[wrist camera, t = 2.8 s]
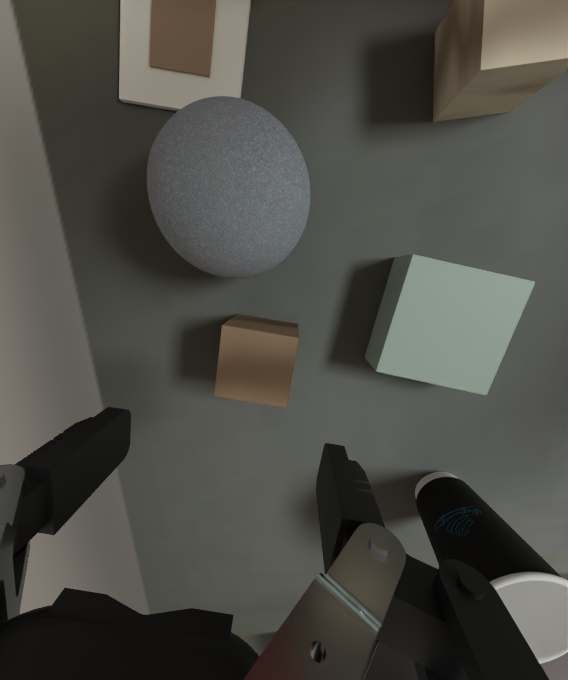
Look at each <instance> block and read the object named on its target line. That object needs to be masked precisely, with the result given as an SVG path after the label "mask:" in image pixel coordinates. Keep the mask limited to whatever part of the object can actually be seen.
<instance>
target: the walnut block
mask: <svg viewBox="0 0 568 680" xmlns="http://www.w3.org/2000/svg"><path fill="white" fill-rule="evenodd" d="M298 340H299V332H298V324H294V323H288V322H282V321H276V320H270V319H264V318H258V317H252V316H246V315H240V314H237V315H235V316H234V317H233V318H231V319H230V320H228V321H227V322H226V323H224V324H223V325H222V330H221V339H220V348H219V357H218V366H217V375H216V384H215V393H214V396H218V397H224V398H230V399H236V400H241V401H247V402H253V403H259V404H265V405H271V406H277V407H283V408H286V406H287V401H288V395H289V390H290V384H291V379H292V373H293V368H294V362H295V357H296V351H297V346H298Z"/></svg>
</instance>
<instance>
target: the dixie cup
mask: <svg viewBox="0 0 568 680" xmlns="http://www.w3.org/2000/svg"><path fill="white" fill-rule="evenodd" d="M415 497H416V505H417V509H418V511H419V514H420V516H421V519H422V522H423V524H424V527H425V529H426V532H427V535H428V537H429V540H430V542H431V545H432V547H433V550H434V553H435V555H436V558H437V560H438V563H439V566H440V564H441V563H442V562H443V561H444V560H447V559H455V560H459V561H462V562H464V563H466V564H468V565H470V566H471V567H473V568H474V569H476V570H477V571H478V572H480V573H481V574H482V575H483V576H484V577H485V578H486V579H487V580H488V581H489V582H490V583H491V584H492V586H493V587H494V588H495V590H496V591H497V593H498V594H499V596H500V598H501V599H502V601H503V603H504V604H505V606H506V608H507V610H508V611H509V613H510V615H511V616H512V618H513V620H514V621H515V623H516V625H517V626H518V628H519V630H520V631H521V633H522V635H523V636H524V638H525V640H526V642H527V643H528V645H529V647H530V648H531V650H532V652H533V653H534V655H535V657H536V658H537V660H538V662H539V663H540V664H541V663H544V662H548V661H551V660H553V659H556V658H558V657H560V656H562V655H564V654H565V653H567V652H568V580H566V579H564V578H562V577H561V576H560V575H559V574H558V573H557V572H556V571H555V570H554V569H553V568H552V567H551V566H550V565H549V564H548V563H547V562H546V561H545V560H544V559H543V558H542V557H541V556H540V555H539V554H537V553H536V552H535V551H534V550H533V549H532V548H531V547H530V546H529V545H528V544H527V543H526V542H525V541H524V540H523V539H522V538H521V537H520V536H519V535H518V534H517V533H516V532H515V531H514V530H513V529H512V528H511V527H510V526H509V525H508V524H507V523H506V522H505V521H504V520H503V519H502V518H501V517H500V516H499V515H498V514H497V513H496V512H495V511H494V510H493V509H492V508H491V507H490V506H489V505H488V504H487V503H486V502H484V501H483V500H482V499H481V498H480V497H479V496H478V495H477V494H476V493H475V492H474V491H473V490H472V489H471V488H470V487H469V486H468V485H467V484H466V483H465V482H463V481H462V480H460V479H458V478H457V477H456V476H454V475H453V474H451V473H447V472H434V473H431V474H428V475H426V476H425V477H423V478H422V479H421V480H420V481H419V482H418V484H417V486H416V488H415Z"/></svg>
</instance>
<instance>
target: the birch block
mask: <svg viewBox="0 0 568 680" xmlns="http://www.w3.org/2000/svg"><path fill="white" fill-rule="evenodd" d="M566 69H568V0H454V1H453V3H452V4H451V6H450V8H449V9H448V11H447V13H446V15H445V16H444V18H443V20H442V21H441V23H440V25H439V27H438V28H437V30H436V32H435V58H434V100H433V122H439V121H446V120H454V119H462V118H469V117H477V116H485V115H492V114H500V113H507V112H510V111H512V110H513V109H514V108H516V107H517V106H518V105H520V104H521V103H522V102H524V101H525V100H526V99H528V98H529V97H530V96H532V95H533V94H534V93H536V92H537V91H538V90H540V89H541V88H542V87H544V86H545V85H546V84H548V83H549V82H550V81H552V80H553V79H554V78H556V77H557V76H558V75H560V74H561V73H562V72H564V71H565V70H566Z"/></svg>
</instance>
